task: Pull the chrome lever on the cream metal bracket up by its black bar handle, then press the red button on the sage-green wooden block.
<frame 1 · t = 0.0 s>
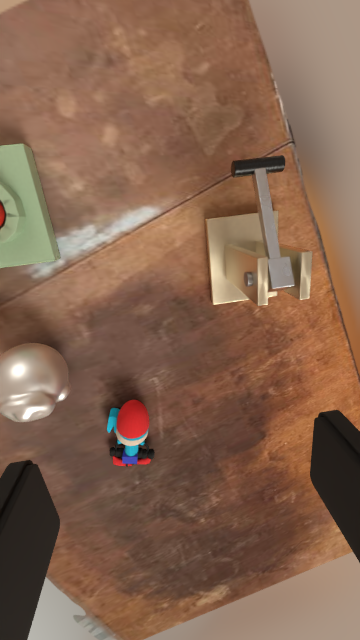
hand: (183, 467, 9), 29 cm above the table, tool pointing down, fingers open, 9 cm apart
toy figure: (132, 427, 45), on the table
button block: (3, 212, 32), on the table
bracket: (241, 258, 37), on the table
lever: (267, 223, 27), point 9 cm above the table, hinge at -25.0°
silver rounded figure: (45, 361, 39), on the table
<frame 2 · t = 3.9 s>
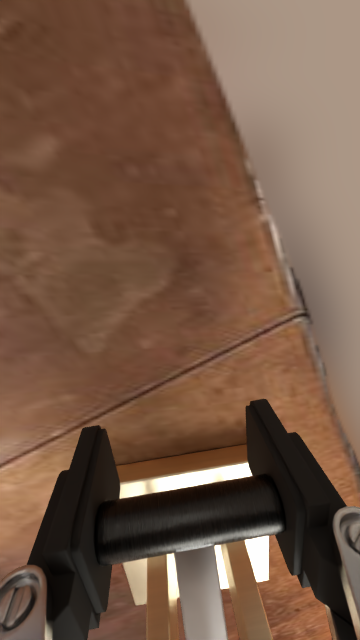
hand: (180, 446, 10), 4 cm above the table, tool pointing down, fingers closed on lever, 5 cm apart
bracket: (192, 519, 17), on the table
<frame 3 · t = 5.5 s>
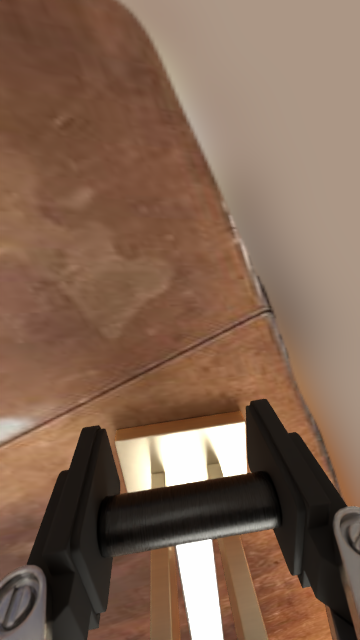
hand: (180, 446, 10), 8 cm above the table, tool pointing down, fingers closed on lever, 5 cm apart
bracket: (186, 475, 22), on the table
lever: (206, 632, 10), point 11 cm above the table, hinge at -3.0°, touching gripper
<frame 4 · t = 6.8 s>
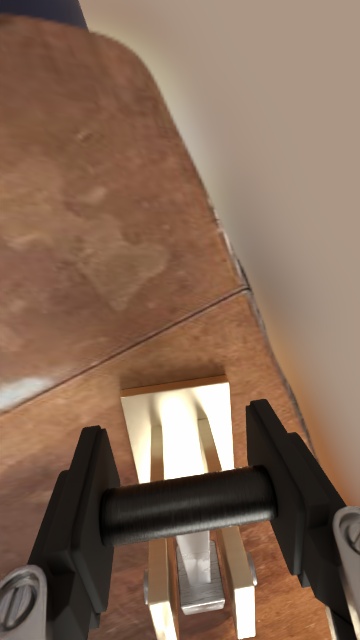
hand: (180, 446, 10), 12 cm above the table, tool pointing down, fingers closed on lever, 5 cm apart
bracket: (181, 432, 25), on the table
lever: (195, 553, 12), point 13 cm above the table, hinge at 18.1°, touching gripper
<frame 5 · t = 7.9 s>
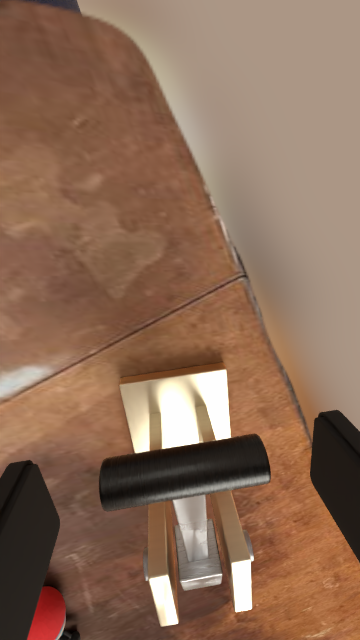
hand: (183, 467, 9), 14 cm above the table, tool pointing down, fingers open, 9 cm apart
toy figure: (50, 604, 34), on the table
bracket: (179, 419, 26), on the table
lever: (193, 526, 12), point 13 cm above the table, hinge at 17.9°
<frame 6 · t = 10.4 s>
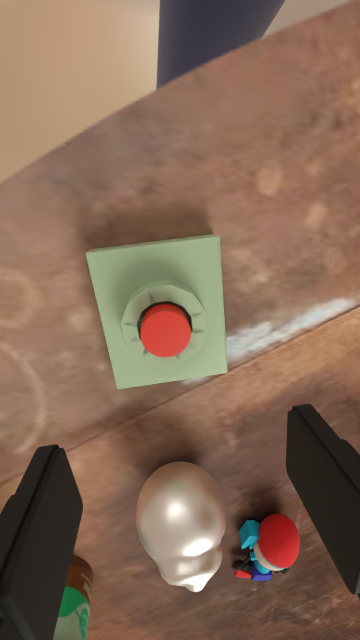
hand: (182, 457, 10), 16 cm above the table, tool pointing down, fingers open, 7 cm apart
toy figure: (262, 535, 38), on the table
button block: (163, 310, 25), on the table
food container: (77, 569, 36), on the table
silver rounded figure: (177, 473, 32), on the table
button: (165, 330, 20), point 4 cm above the table, slide at 0.1 cm
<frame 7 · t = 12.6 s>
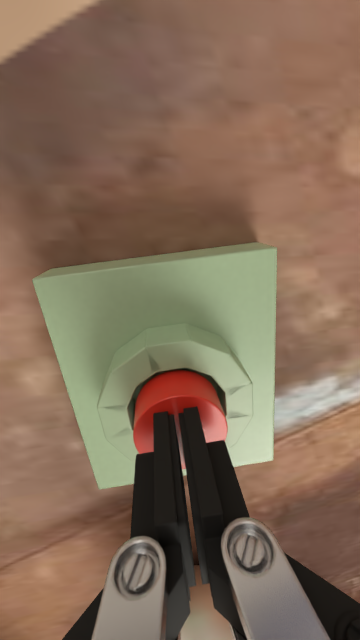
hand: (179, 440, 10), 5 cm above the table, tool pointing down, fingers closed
button block: (171, 363, 15), on the table
silver rounded figure: (189, 572, 23), on the table
button: (179, 419, 11), point 4 cm above the table, slide at 0.1 cm, touching gripper
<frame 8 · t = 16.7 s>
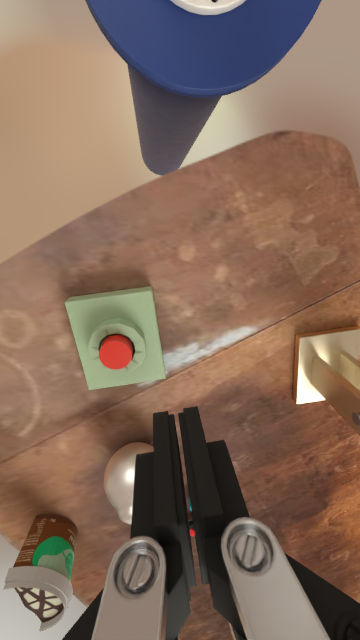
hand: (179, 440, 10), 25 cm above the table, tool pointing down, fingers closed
button block: (120, 335, 36), on the table
bracket: (323, 364, 40), on the table
food container: (65, 527, 47), on the table
silver rounded figure: (138, 452, 43), on the table
button: (116, 351, 31), point 4 cm above the table, slide at 0.1 cm
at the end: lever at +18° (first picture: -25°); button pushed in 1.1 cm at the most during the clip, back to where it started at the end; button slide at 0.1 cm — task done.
